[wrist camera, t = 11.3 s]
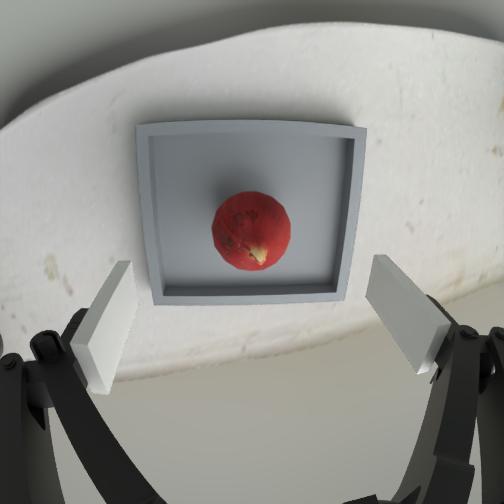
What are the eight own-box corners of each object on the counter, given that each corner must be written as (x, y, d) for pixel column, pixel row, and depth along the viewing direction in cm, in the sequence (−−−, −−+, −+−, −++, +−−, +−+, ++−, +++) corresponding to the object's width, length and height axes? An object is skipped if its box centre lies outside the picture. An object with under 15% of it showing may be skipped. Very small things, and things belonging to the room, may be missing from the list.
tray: (159, 291, 30) (153, 305, 27) (143, 123, 23) (135, 124, 21) (336, 287, 31) (344, 300, 29) (355, 126, 24) (366, 128, 22)
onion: (205, 236, 27) (199, 284, 19) (224, 173, 24) (224, 199, 17) (268, 252, 28) (283, 304, 21) (291, 193, 26) (317, 227, 18)
